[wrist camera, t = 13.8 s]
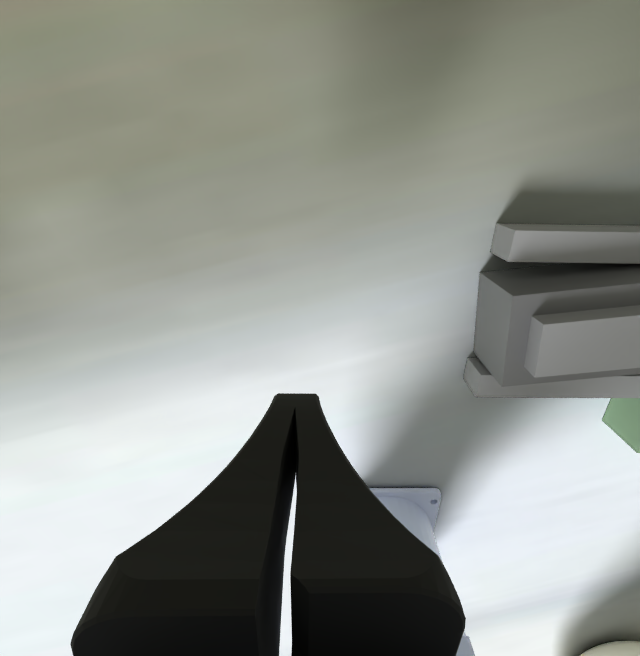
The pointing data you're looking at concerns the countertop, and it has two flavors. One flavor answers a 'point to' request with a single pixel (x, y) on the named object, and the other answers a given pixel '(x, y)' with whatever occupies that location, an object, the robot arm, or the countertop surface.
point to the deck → (569, 247)
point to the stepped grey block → (559, 322)
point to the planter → (615, 649)
